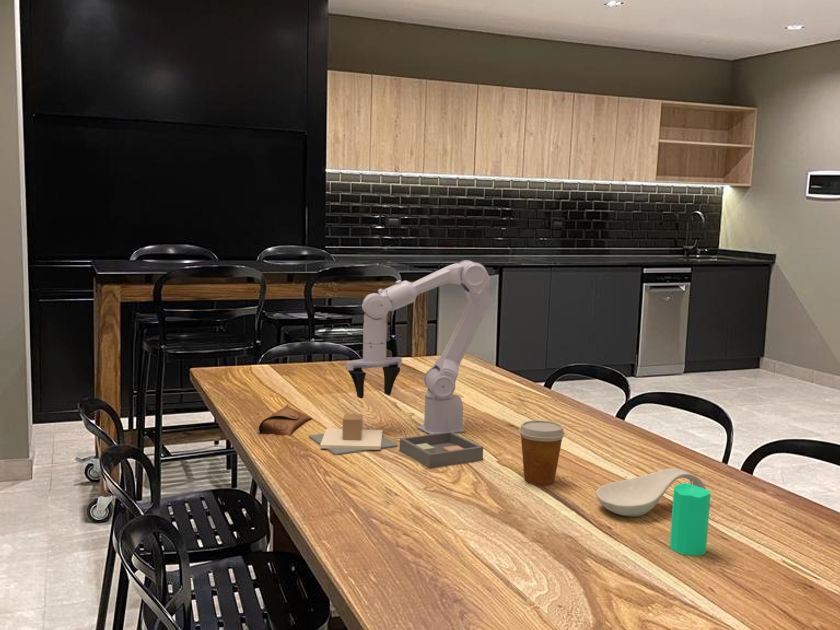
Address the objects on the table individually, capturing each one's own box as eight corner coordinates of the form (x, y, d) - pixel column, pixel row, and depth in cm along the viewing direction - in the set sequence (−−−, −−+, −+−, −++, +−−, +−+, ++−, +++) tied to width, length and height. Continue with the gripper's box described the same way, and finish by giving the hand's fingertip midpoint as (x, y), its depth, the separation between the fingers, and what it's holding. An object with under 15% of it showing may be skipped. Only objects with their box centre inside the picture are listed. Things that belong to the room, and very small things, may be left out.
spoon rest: (619, 527, 152) (621, 489, 151) (583, 505, 163) (585, 469, 162) (720, 512, 161) (723, 476, 160) (680, 491, 172) (683, 458, 171)
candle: (664, 541, 146) (669, 475, 144) (697, 541, 146) (702, 475, 145) (677, 555, 140) (682, 487, 138) (712, 555, 140) (717, 487, 139)
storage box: (450, 443, 201) (451, 431, 201) (482, 459, 189) (483, 447, 188) (399, 450, 194) (399, 438, 194) (429, 468, 182) (429, 454, 182)
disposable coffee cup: (565, 477, 179) (568, 422, 177) (557, 491, 170) (560, 434, 168) (521, 471, 182) (524, 417, 180) (512, 484, 173) (514, 428, 171)
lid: (382, 432, 207) (383, 410, 206) (380, 449, 193) (381, 425, 192) (326, 431, 207) (326, 408, 206) (320, 448, 193) (320, 424, 192)
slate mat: (367, 429, 211) (367, 428, 211) (397, 446, 197) (397, 445, 197) (308, 437, 203) (308, 435, 203) (335, 455, 189) (335, 453, 189)
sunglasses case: (291, 436, 203) (278, 412, 203) (267, 448, 205) (254, 424, 205) (314, 417, 221) (302, 395, 221) (292, 429, 222) (280, 407, 222)
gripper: (392, 337, 213) (392, 389, 215) (341, 341, 205) (340, 395, 207) (406, 342, 207) (405, 395, 209) (353, 346, 199) (352, 401, 201)
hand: (374, 396), depth 208 cm, fingers open, 7 cm apart
